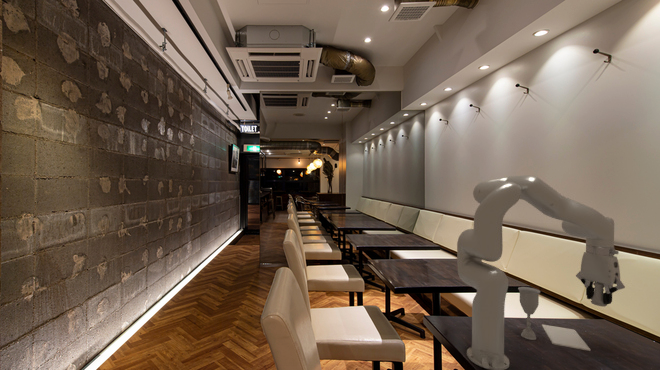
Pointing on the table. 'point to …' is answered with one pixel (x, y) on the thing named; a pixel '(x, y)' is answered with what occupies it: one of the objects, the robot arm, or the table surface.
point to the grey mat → (565, 337)
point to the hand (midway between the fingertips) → (598, 300)
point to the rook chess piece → (598, 295)
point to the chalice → (529, 308)
